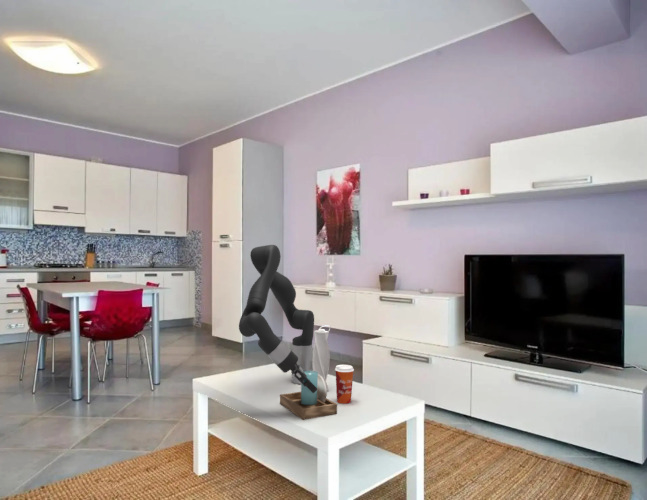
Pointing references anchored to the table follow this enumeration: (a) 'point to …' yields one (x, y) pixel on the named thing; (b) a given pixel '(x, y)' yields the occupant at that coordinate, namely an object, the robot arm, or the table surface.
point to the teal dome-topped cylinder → (306, 394)
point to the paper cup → (344, 383)
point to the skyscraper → (321, 353)
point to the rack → (310, 411)
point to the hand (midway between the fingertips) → (313, 388)
